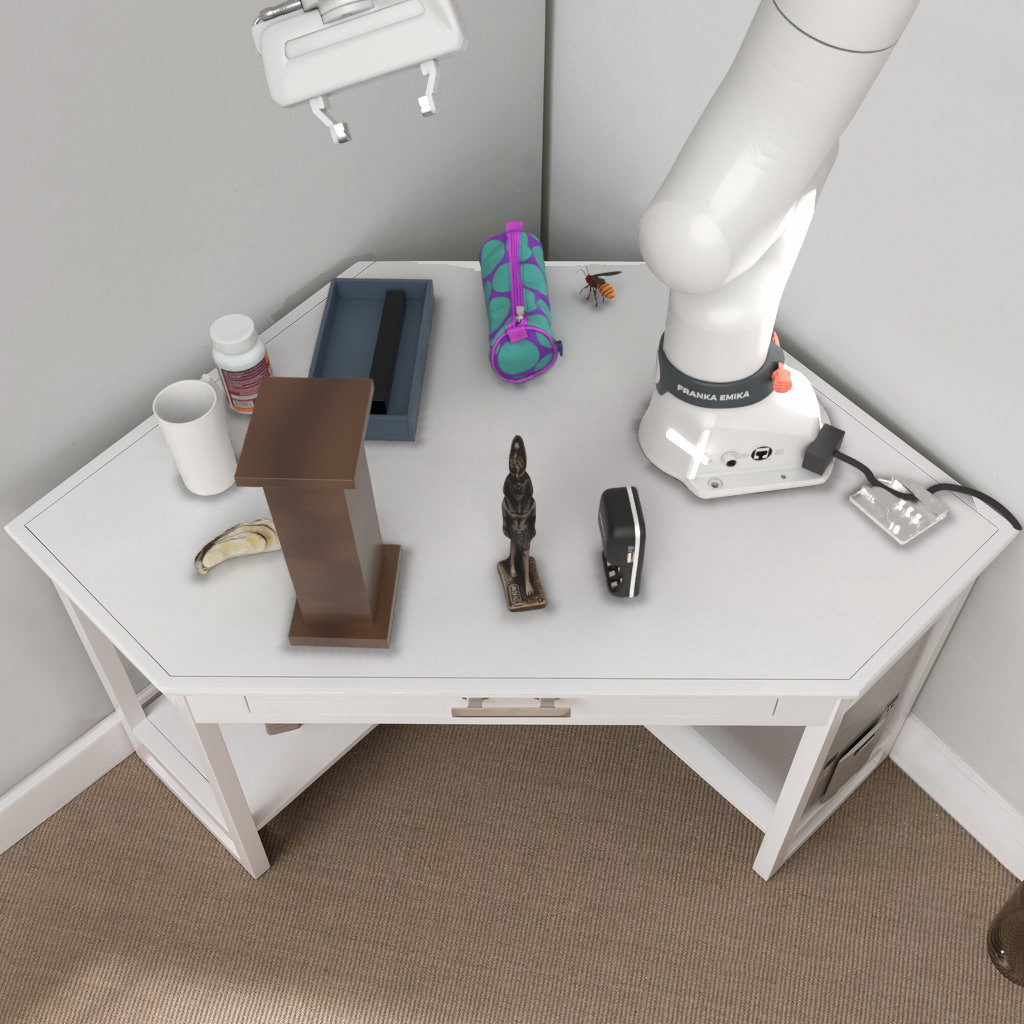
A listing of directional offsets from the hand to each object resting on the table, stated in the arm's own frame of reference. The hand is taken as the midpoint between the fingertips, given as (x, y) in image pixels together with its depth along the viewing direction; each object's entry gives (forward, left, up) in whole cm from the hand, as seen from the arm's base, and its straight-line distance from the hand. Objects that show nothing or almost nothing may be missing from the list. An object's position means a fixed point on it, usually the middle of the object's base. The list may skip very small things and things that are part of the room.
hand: (387, 129), depth 106 cm
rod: (+4, -3, -33) cm, 34 cm away
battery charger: (-24, +29, -34) cm, 51 cm away
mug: (+22, +15, -34) cm, 43 cm away
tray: (+6, -2, -34) cm, 35 cm away
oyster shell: (+16, +28, -34) cm, 47 cm away
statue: (-14, +31, -34) cm, 48 cm away
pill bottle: (+20, +4, -34) cm, 40 cm away
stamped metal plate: (-55, +19, -34) cm, 68 cm away
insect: (-22, -15, -34) cm, 44 cm away
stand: (+4, +33, -34) cm, 48 cm away
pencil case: (-12, -9, -34) cm, 38 cm away
